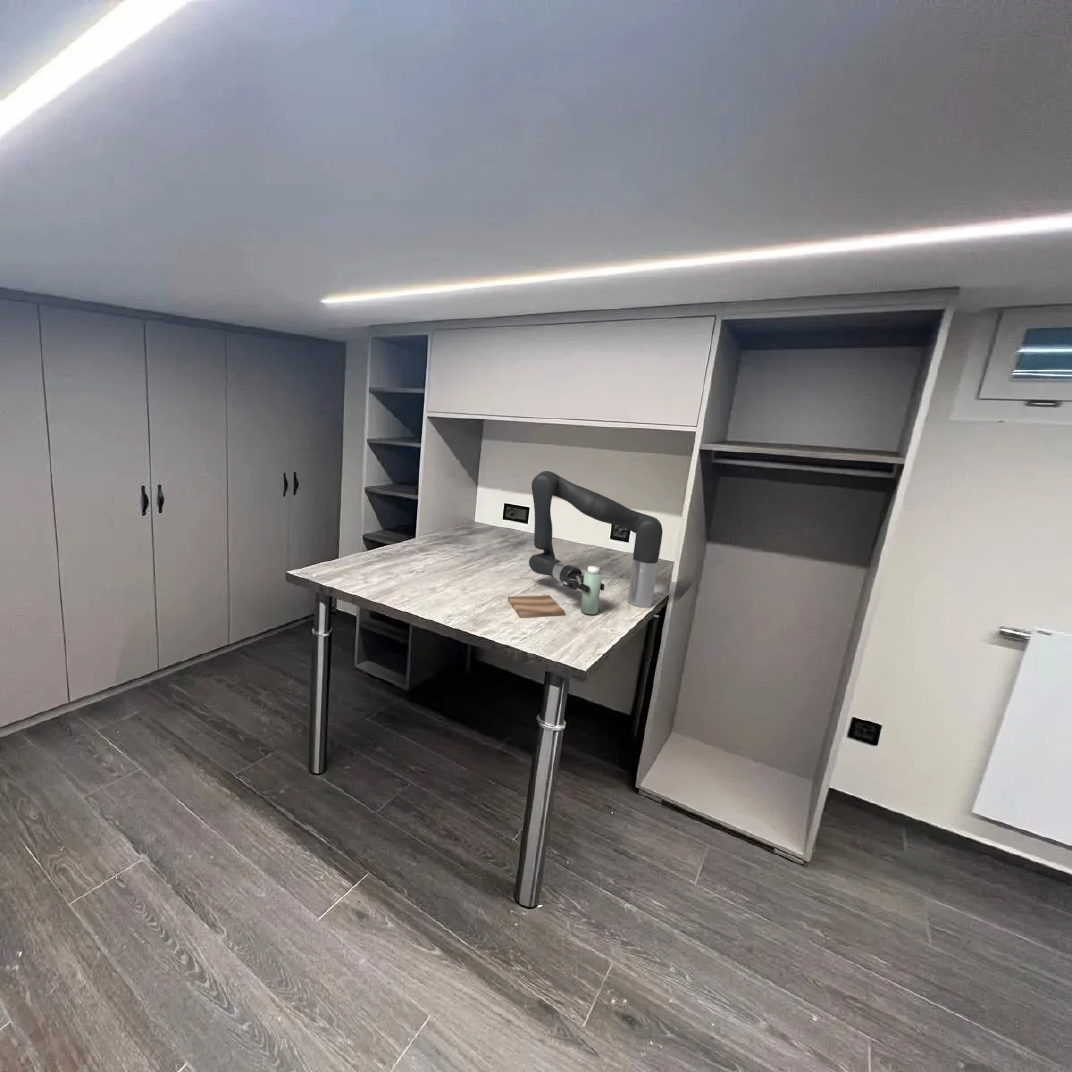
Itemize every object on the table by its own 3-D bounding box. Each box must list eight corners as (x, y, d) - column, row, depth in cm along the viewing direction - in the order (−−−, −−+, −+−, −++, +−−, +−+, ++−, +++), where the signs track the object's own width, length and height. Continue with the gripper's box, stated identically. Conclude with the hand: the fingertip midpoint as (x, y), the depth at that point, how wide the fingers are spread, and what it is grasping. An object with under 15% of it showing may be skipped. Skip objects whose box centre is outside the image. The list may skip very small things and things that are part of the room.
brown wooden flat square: (507, 600, 182) (507, 596, 181) (549, 598, 187) (549, 595, 187) (520, 617, 167) (520, 613, 167) (564, 615, 172) (565, 611, 172)
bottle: (584, 606, 180) (588, 563, 176) (600, 610, 178) (604, 567, 174) (577, 611, 175) (582, 567, 171) (593, 615, 172) (598, 571, 169)
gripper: (552, 566, 181) (581, 580, 167) (583, 562, 189) (613, 576, 175) (550, 586, 183) (578, 602, 169) (581, 581, 190) (610, 596, 177)
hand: (596, 588), depth 172 cm, fingers closed on bottle, 6 cm apart
